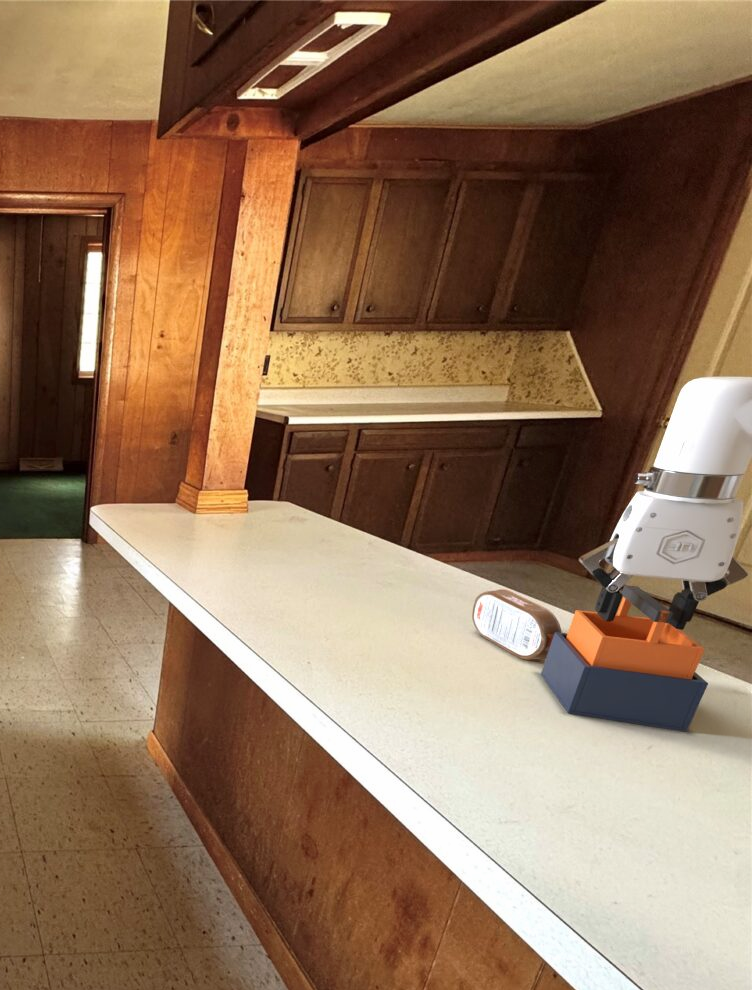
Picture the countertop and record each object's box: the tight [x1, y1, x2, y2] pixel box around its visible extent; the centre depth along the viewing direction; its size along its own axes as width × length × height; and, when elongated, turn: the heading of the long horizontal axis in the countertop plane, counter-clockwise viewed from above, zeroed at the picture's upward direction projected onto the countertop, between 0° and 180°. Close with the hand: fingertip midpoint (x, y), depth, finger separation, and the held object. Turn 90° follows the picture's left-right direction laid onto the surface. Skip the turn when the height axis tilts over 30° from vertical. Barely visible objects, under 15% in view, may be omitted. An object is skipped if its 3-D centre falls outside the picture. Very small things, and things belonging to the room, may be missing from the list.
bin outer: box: [540, 632, 709, 733], centre depth 89 cm, size 12×12×7 cm
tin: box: [471, 588, 563, 661], centre depth 105 cm, size 15×3×8 cm, turn 179°
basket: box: [566, 584, 706, 679], centre depth 87 cm, size 10×10×15 cm
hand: (638, 620), depth 86 cm, fingers open, 6 cm apart
